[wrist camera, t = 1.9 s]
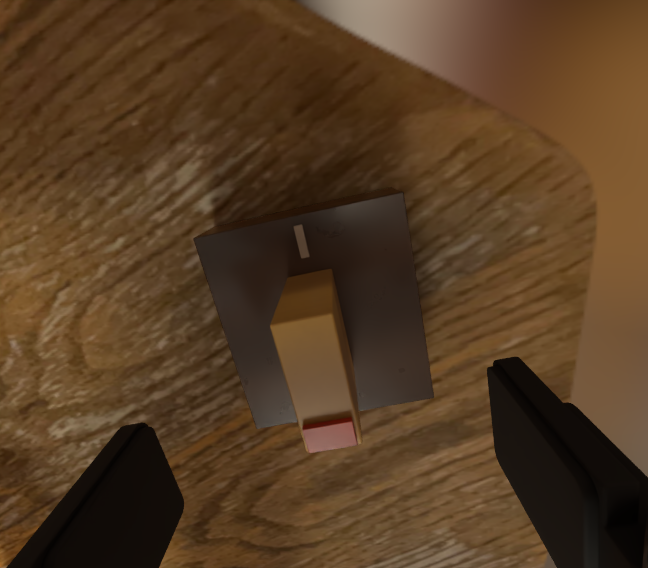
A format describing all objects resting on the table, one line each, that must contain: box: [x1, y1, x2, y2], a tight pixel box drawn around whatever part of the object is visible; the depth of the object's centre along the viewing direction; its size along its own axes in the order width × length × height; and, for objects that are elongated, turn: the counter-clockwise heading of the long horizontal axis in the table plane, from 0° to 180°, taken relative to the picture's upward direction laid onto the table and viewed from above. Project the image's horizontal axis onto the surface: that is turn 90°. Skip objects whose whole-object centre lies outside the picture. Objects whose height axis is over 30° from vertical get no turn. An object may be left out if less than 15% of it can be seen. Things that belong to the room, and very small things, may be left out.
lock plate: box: [194, 187, 434, 429], centre depth 18 cm, size 10×9×3 cm
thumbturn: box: [270, 269, 362, 453], centre depth 14 cm, size 5×2×5 cm, turn 12°
